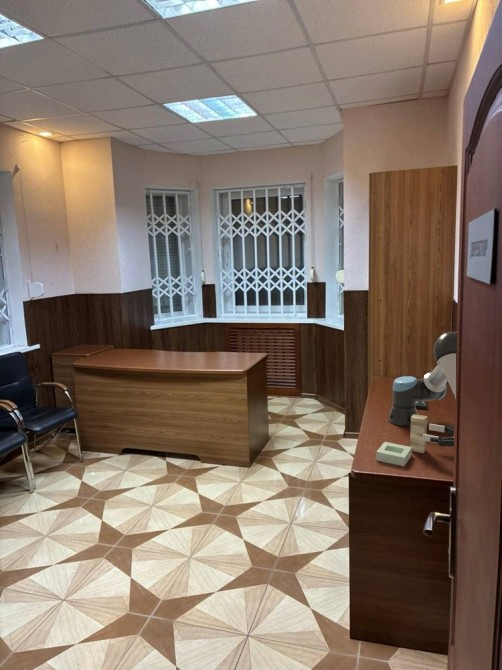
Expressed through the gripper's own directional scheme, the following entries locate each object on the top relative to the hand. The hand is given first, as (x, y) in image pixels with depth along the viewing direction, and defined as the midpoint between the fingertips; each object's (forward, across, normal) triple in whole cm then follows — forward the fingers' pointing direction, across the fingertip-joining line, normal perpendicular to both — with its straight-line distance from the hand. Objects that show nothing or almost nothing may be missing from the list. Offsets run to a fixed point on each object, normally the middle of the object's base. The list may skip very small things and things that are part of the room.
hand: (426, 431), depth 208 cm
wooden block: (+3, +1, -10) cm, 10 cm away
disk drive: (+18, +64, -11) cm, 67 cm away
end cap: (+10, -12, -10) cm, 19 cm away
